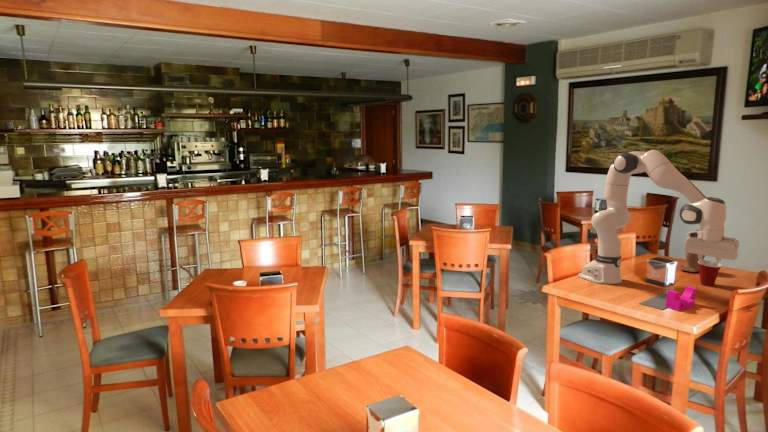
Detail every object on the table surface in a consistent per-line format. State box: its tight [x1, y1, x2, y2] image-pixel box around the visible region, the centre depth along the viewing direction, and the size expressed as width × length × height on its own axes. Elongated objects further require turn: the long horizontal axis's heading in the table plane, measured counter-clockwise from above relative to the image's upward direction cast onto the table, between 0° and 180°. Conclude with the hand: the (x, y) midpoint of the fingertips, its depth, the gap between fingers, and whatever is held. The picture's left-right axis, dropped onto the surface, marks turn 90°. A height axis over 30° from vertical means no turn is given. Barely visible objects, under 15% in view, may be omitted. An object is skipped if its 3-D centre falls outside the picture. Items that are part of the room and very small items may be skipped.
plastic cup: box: [698, 259, 723, 287], centre depth 261 cm, size 11×11×12 cm
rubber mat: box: [638, 292, 669, 311], centre depth 238 cm, size 10×24×1 cm, turn 127°
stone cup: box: [678, 252, 706, 273], centre depth 287 cm, size 15×12×15 cm
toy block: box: [666, 285, 697, 312], centre depth 231 cm, size 15×6×8 cm, turn 116°
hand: (708, 265), depth 221 cm, fingers open, 3 cm apart
